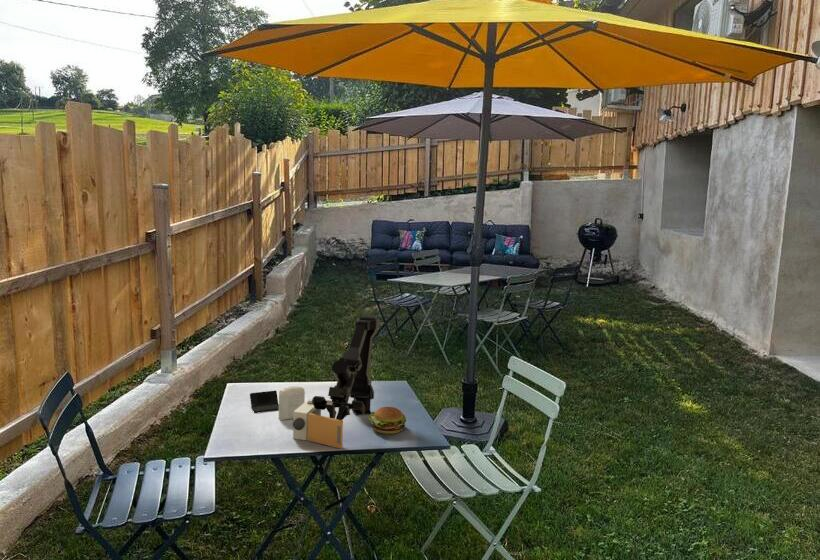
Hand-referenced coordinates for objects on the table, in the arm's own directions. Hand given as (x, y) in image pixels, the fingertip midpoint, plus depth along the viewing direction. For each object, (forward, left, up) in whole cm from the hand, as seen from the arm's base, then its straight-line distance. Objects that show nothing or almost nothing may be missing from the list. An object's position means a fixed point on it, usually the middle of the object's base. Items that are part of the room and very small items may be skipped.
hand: (332, 427), depth 216 cm
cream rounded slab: (+8, -30, -7) cm, 32 cm away
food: (-24, -9, -7) cm, 26 cm away
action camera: (+6, -14, -7) cm, 17 cm away
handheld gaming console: (+16, -43, -7) cm, 47 cm away
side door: (+3, -2, -6) cm, 7 cm away
